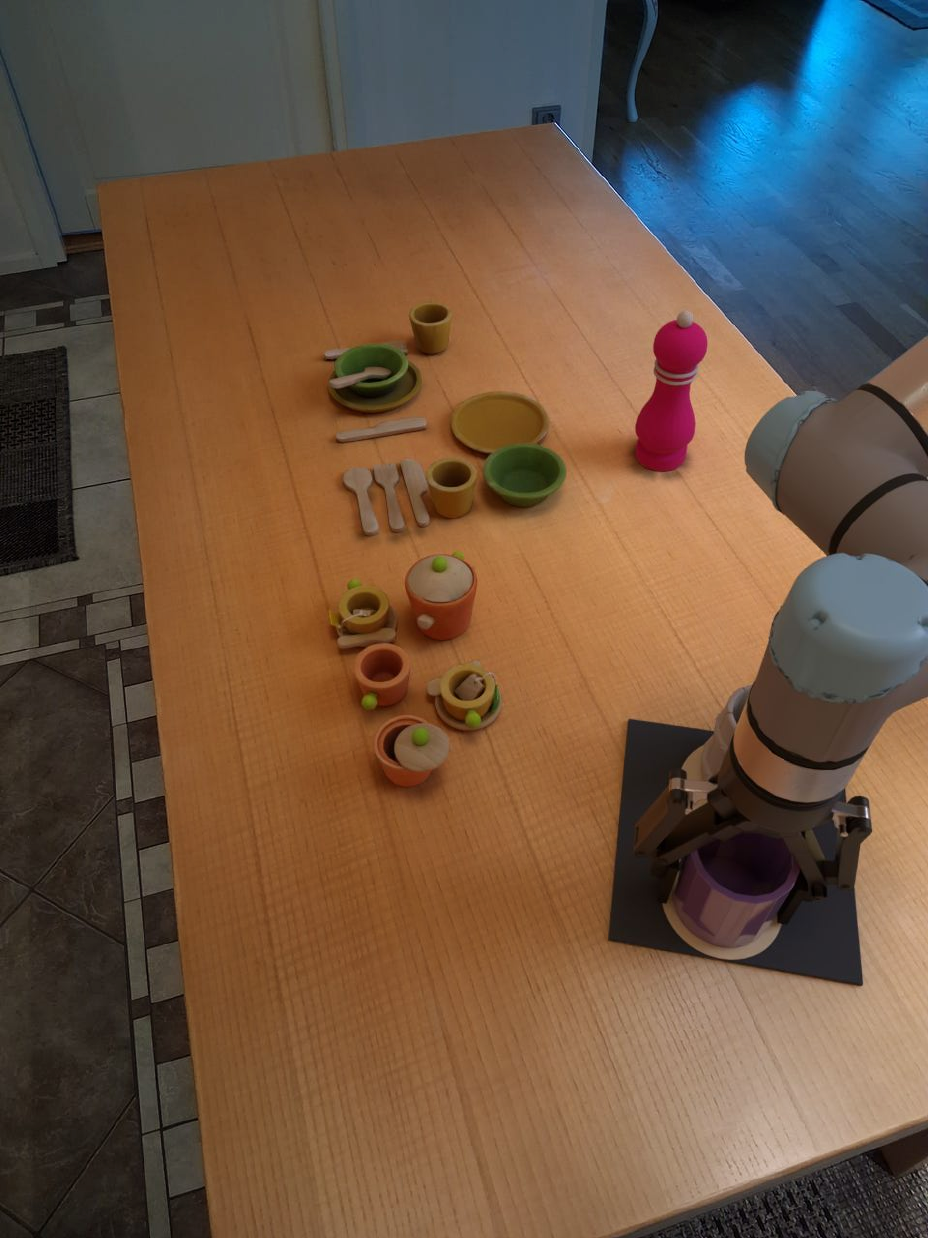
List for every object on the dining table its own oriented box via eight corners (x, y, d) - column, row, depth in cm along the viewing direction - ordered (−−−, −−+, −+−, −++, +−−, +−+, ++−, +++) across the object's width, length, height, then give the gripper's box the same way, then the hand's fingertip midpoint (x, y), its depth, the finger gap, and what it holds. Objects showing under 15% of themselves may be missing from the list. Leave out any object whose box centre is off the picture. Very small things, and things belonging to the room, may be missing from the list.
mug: (772, 738, 85) (806, 661, 76) (802, 854, 78) (843, 784, 68) (692, 738, 85) (716, 662, 76) (713, 854, 78) (743, 784, 69)
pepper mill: (648, 430, 117) (671, 288, 101) (698, 450, 114) (731, 307, 99) (620, 460, 113) (641, 316, 98) (672, 481, 110) (701, 337, 95)
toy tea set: (326, 605, 98) (312, 542, 91) (462, 576, 101) (460, 512, 93) (373, 811, 82) (361, 755, 74) (535, 770, 84) (539, 712, 77)
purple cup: (770, 862, 77) (797, 812, 70) (772, 956, 72) (802, 912, 65) (673, 846, 78) (691, 795, 71) (669, 938, 73) (688, 892, 66)
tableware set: (319, 351, 130) (312, 312, 125) (504, 326, 134) (505, 286, 129) (355, 547, 104) (349, 506, 99) (585, 509, 107) (590, 468, 102)
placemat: (840, 751, 85) (842, 748, 84) (861, 986, 71) (863, 984, 70) (628, 720, 88) (628, 717, 87) (608, 940, 74) (608, 938, 73)
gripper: (959, 731, 59) (853, 878, 76) (625, 684, 62) (595, 836, 79) (979, 834, 54) (861, 966, 71) (616, 778, 57) (586, 918, 74)
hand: (721, 898), depth 75 cm, fingers open, 9 cm apart
